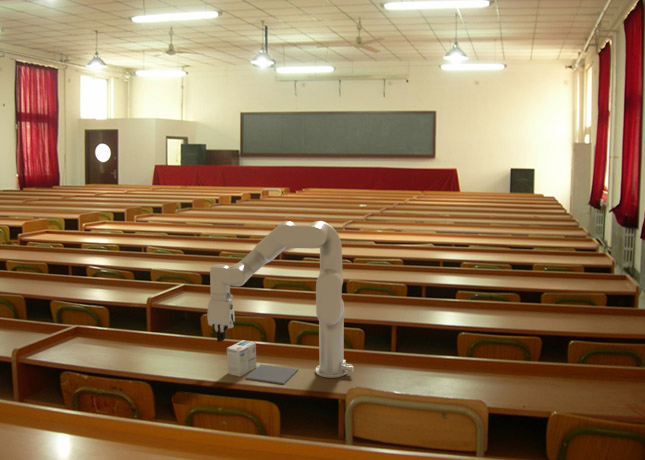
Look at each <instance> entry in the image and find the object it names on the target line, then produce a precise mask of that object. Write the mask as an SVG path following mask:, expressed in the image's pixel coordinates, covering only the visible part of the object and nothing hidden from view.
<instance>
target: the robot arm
mask: <svg viewBox="0 0 645 460" xmlns="http://www.w3.org/2000/svg"><path fill="white" fill-rule="evenodd" d="M342 245H343V244H342V241H341V238H340V235H339V233H338V232H337V230H336V229H335V228H334V227H333V226H332V225H331V224H329V223H327V222H326V221H323V220H316V221H313V222H311V223H310V224H309V225H296V224H295V223H294V222H293V221H289V220H286V221H282V222H281V223H279V224H278V225H277V226H276V227H275V228H274V229H272V231H270V232H269V233H268V234H267V235H266V236H265V237H263V238H262V240H259V242H258V243H257V244H256V245H255V246H254V248H253V249H252V250H251V251H250V252H249V253H248V254H247V255H245V257H242V259H241V260H240V261H239V262H237V264H235V265H234V266H232V267H230V266H228V265H227V264H224V263H223V264H221V263H220V264H219V263H218V264H217V263H216V264H213V265H212V266H211V267H210V271H209V274H210V275H209V277H210V278H209V279H210V281H209V282H210V298H209V300H208V304H207V316H206V317H207V325H208V326H210V327H212V328H213V329H214V330H215V332H216V341H217V342H219V343H222V342H223V341H225V339H226V331H227V330H228V329H232V328H234V323H235V319H236V318H235V317H236V316H235V307H234V302H233V299H232V298H233V297H234V295H233V294H231V286H232V287H241V286H243V285H245V283H247V282H248V281H249V279H250V278H251V277H252V276H253V275H255V273H257V272H259V270H260V269H261V268H263V266H265V265H266V264H268V263H270V262H272V261H273V260H275V258H277V257H278V255H280V254H281V253H282V252H284V250H286V249H287V248H289V249H311V250H312V249H318V248H319V274H318V277H317V278H316V285H315V313H316V314H315V315H316V318H317V320H318V323H319V324H318V325H319V326H318V327H319V328H318V332H319V333H318V339H319V341H318V343H319V346H318V348H319V349H318V350H319V352H318V353H319V357H318V358H319V362H318V363H319V365H317V366H316V367H315V373H316V374H317V376H319V377H323V378H328V379H329V378H330V379H335V378H336V379H337V378H342V377H344V376H345V375H347V373H348V372H354V369H355V367H354V366H353V364H351V363H350V364H349V363H347V362H346V361H347V360H346V359H344V358H345V357H344V354H345V353H344V350H345V349H344V348H345V347H344V334H345V333H344V331H345V330H344V326H345V324H344V322H345V321H344V320H345V302H344V300H343V297H342V296H343V294H342V291H343V284H344V276H343V247H342Z"/></svg>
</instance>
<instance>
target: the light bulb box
mask: <svg viewBox="0 0 645 460" xmlns="http://www.w3.org/2000/svg"><path fill="white" fill-rule="evenodd" d="M226 357H227V358H226V359H227V361H226V362H227V365H226V366H227V374H229V375H232V376H237V377H242V376H244V375H246V374H247V373H249V372H252V371H254V370H255V369H256V368H257V345H256V342H254V341H250V340H244V339H243V340H239V341H238V342H237V343H234V344H233V345H229V346H228V347H227V348H226Z"/></svg>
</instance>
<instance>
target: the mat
mask: <svg viewBox="0 0 645 460" xmlns="http://www.w3.org/2000/svg"><path fill="white" fill-rule="evenodd" d="M298 371H299V369H297V368H290V367H285V366H275V365H270V364H263V363H261V364H260V365H259V366H256V368H255V369H253V370H252V371H250V373H249V374H248V375H247V376H245V380H251V381H257V382H264V381H265V382H264V383H270V382H272V383H271V384H277V383H278V384H279V385H285V384H286V383H287V382H288V381H289V380H290V379H292V377H293V376H295V375H296V374H297V372H298Z"/></svg>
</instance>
